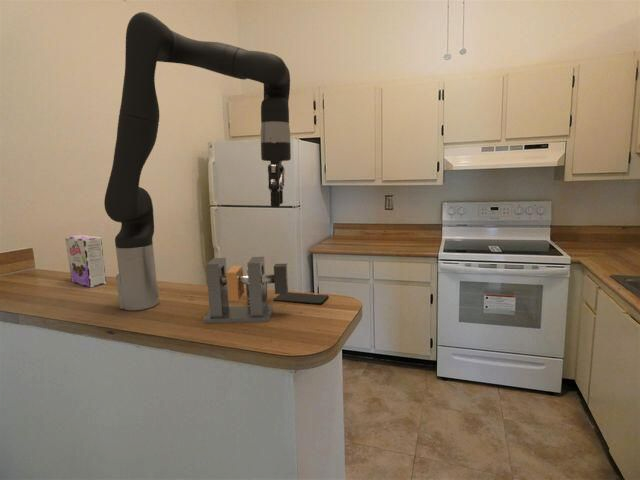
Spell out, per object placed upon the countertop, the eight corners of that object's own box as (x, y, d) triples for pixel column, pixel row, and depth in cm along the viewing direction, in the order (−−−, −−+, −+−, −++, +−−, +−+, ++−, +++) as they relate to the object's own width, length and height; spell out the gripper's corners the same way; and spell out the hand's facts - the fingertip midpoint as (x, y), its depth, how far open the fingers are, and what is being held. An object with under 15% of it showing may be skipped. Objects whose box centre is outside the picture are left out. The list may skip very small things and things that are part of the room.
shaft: (215, 295, 96) (212, 268, 94) (218, 291, 99) (216, 265, 97) (287, 293, 95) (285, 266, 94) (288, 290, 98) (286, 263, 97)
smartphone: (282, 292, 116) (329, 295, 110) (282, 295, 116) (330, 298, 111) (271, 299, 109) (321, 303, 104) (271, 303, 109) (321, 306, 104)
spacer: (228, 300, 94) (226, 272, 92) (234, 291, 101) (232, 265, 99) (238, 300, 94) (236, 272, 92) (244, 291, 101) (242, 265, 99)
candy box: (70, 282, 135) (64, 236, 132) (88, 278, 139) (82, 233, 137) (89, 288, 127) (83, 239, 124) (107, 283, 132) (101, 236, 129)
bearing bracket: (203, 323, 94) (198, 265, 91) (213, 310, 103) (209, 257, 100) (268, 321, 93) (265, 263, 91) (273, 308, 102) (270, 255, 100)
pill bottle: (263, 306, 105) (261, 270, 103) (243, 305, 106) (241, 270, 104) (270, 299, 110) (268, 265, 108) (251, 298, 111) (249, 265, 110)
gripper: (264, 143, 105) (266, 203, 107) (256, 139, 91) (258, 208, 93) (292, 143, 105) (293, 203, 107) (288, 139, 91) (289, 207, 93)
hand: (277, 205), depth 100 cm, fingers open, 8 cm apart
